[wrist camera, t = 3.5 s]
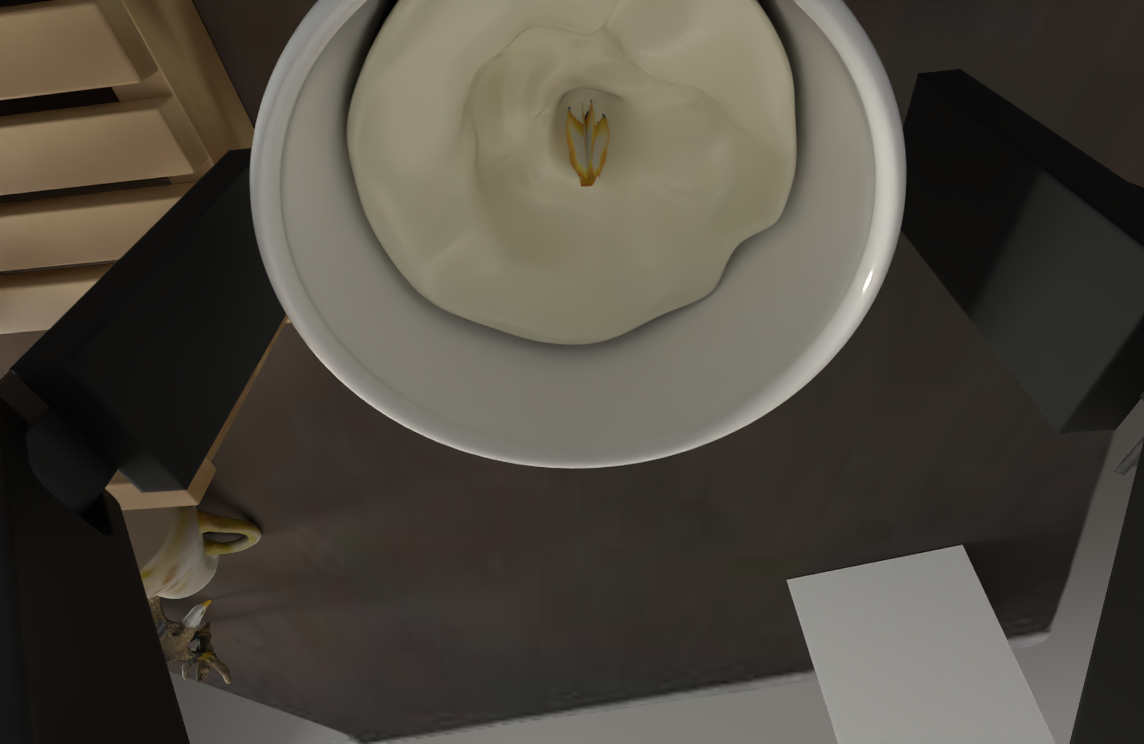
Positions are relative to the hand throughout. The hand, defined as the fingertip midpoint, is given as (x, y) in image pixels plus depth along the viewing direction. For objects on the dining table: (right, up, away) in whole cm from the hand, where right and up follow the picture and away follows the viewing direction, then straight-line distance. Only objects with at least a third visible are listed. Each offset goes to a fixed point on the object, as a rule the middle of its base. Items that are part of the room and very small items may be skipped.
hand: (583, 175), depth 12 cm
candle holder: (0, +6, +6) cm, 8 cm away
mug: (-24, -12, +23) cm, 35 cm away
